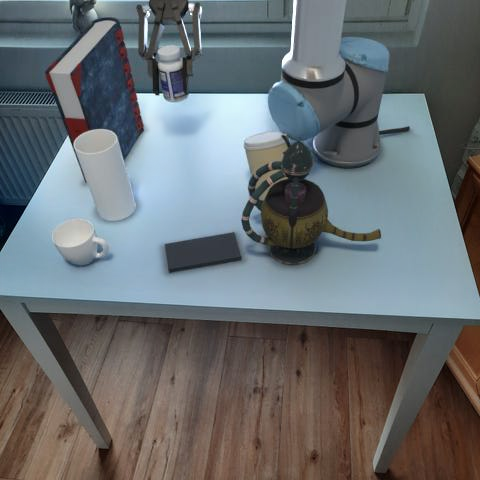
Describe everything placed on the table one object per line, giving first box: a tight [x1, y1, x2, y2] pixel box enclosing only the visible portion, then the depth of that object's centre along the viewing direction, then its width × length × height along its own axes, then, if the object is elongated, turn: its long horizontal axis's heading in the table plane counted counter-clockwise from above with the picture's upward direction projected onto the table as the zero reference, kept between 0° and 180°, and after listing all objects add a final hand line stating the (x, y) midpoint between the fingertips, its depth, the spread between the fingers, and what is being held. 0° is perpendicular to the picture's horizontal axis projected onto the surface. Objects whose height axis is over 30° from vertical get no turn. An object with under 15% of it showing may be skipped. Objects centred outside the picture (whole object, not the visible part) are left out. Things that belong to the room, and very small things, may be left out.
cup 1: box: [74, 129, 137, 222], centre depth 95 cm, size 8×8×16 cm
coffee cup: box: [243, 129, 290, 202], centre depth 98 cm, size 9×9×12 cm
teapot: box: [240, 135, 382, 266], centre depth 82 cm, size 12×25×23 cm, turn 82°
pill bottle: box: [157, 44, 189, 103], centre depth 102 cm, size 6×6×10 cm
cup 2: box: [51, 218, 109, 266], centre depth 89 cm, size 8×10×7 cm
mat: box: [164, 231, 242, 274], centre depth 91 cm, size 14×7×1 cm, turn 101°
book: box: [44, 16, 145, 184], centre depth 104 cm, size 25×7×25 cm, turn 167°
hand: (171, 92), depth 100 cm, fingers closed on pill bottle, 6 cm apart
